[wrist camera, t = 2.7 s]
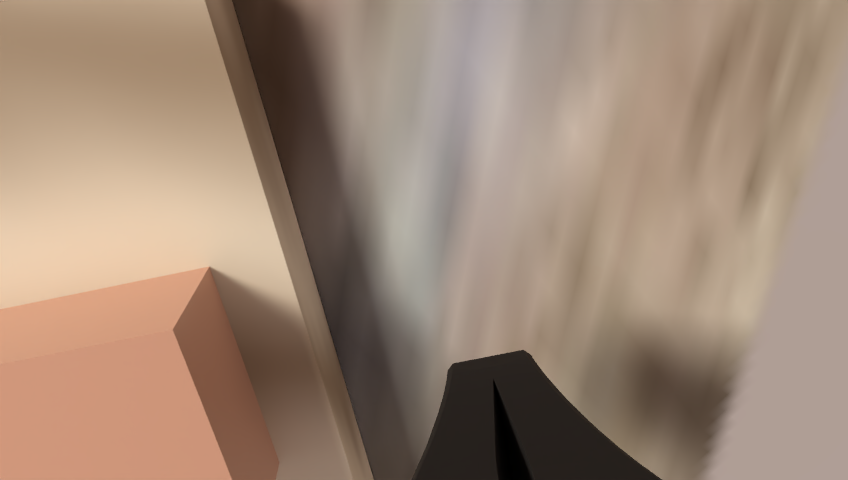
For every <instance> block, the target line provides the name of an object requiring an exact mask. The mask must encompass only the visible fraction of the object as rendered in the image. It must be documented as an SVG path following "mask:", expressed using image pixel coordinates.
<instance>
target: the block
mask: <svg viewBox="0 0 848 480" xmlns="http://www.w3.org/2000/svg"><path fill="white" fill-rule="evenodd" d="M279 463H280V462H279V460H278V457H277V454H276V451H275V448H274V446H273V443H272V440H271V437H270V434H269V432H268V429H267V426H266V423H265V420H264V418H263V415H262V412H261V409H260V406H259V404H258V401H257V398H256V395H255V393H254V390H253V387H252V384H251V381H250V379H249V376H248V373H247V370H246V367H245V365H244V362H243V359H242V356H241V353H240V351H239V348H238V345H237V342H236V339H235V337H234V334H233V331H232V328H231V325H230V323H229V320H228V317H227V314H226V312H225V309H224V306H223V303H222V300H221V298H220V295H219V292H218V289H217V286H216V284H215V281H214V278H213V275H212V272H211V270H210V267H204V268H199V269H195V270H190V271H185V272H180V273H175V274H170V275H165V276H160V277H155V278H151V279H146V280H141V281H136V282H131V283H126V284H121V285H116V286H111V287H107V288H102V289H97V290H92V291H87V292H82V293H77V294H72V295H68V296H63V297H58V298H53V299H48V300H43V301H38V302H33V303H28V304H24V305H19V306H14V307H9V308H4V309H0V480H276V476H277V472H278V467H279Z"/></svg>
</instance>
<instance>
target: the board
mask: <svg viewBox="0 0 848 480" xmlns="http://www.w3.org/2000/svg"><path fill="white" fill-rule="evenodd" d="M204 267H210V270H211V272H212V275H213V278H214V281H215V284H216V286H217V289H218V292H219V295H220V298H221V300H222V303H223V306H224V309H225V312H226V314H227V317H228V320H229V323H230V325H231V328H232V331H233V334H234V337H235V339H236V342H237V345H238V348H239V351H240V353H241V356H242V359H243V362H244V365H245V367H246V370H247V373H248V376H249V379H250V381H251V384H252V387H253V390H254V393H255V395H256V398H257V401H258V404H259V406H260V409H261V412H262V415H263V418H264V420H265V423H266V426H267V429H268V432H269V434H270V437H271V440H272V443H273V446H274V448H275V451H276V454H277V457H278V460H279V462H280V463H279V467H278V472H277V476H276V480H374V479H373V475H372V472H371V469H370V465H369V462H368V458H367V455H366V452H365V448H364V445H363V442H362V438H361V435H360V431H359V428H358V425H357V421H356V418H355V415H354V411H353V408H352V404H351V401H350V398H349V394H348V391H347V387H346V384H345V381H344V377H343V374H342V371H341V367H340V364H339V360H338V357H337V354H336V350H335V347H334V344H333V340H332V337H331V333H330V330H329V327H328V323H327V320H326V316H325V313H324V310H323V306H322V303H321V300H320V296H319V293H318V289H317V286H316V283H315V279H314V276H313V272H312V269H311V266H310V262H309V259H308V256H307V252H306V249H305V245H304V242H303V239H302V235H301V232H300V229H299V225H298V222H297V218H296V215H295V212H294V208H293V205H292V201H291V198H290V195H289V191H288V188H287V185H286V181H285V178H284V174H283V171H282V168H281V164H280V161H279V158H278V154H277V151H276V147H275V144H274V141H273V137H272V134H271V130H270V127H269V124H268V120H267V117H266V114H265V110H264V107H263V103H262V100H261V97H260V93H259V90H258V87H257V83H256V80H255V76H254V73H253V70H252V66H251V63H250V59H249V56H248V53H247V49H246V46H245V43H244V39H243V36H242V32H241V29H240V26H239V22H238V19H237V16H236V12H235V9H234V5H233V2H232V0H4V1H0V309H4V308H9V307H14V306H19V305H24V304H28V303H33V302H38V301H43V300H48V299H53V298H58V297H63V296H68V295H72V294H77V293H82V292H87V291H92V290H97V289H102V288H107V287H111V286H116V285H121V284H126V283H131V282H136V281H141V280H146V279H151V278H155V277H160V276H165V275H170V274H175V273H180V272H185V271H190V270H195V269H199V268H204Z"/></svg>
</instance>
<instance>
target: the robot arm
mask: <svg viewBox="0 0 848 480" xmlns="http://www.w3.org/2000/svg"><path fill="white" fill-rule="evenodd" d="M412 480H662V479H660V478H659V477H657V476H656V475H655V474H653V473H652V472H650V471H649V470H648V469H646V468H645V467H643V466H642V465H641V464H639V463H638V462H637V461H635V460H634V459H633V458H632V457H630V456H629V455H628V454H626V453H625V452H624V451H623V450H622V449H620V448H619V447H618V446H617V445H615V444H614V443H613V442H612V441H611V440H610V439H608V438H607V437H606V436H605V435H604V434H603V433H602V432H600V431H599V430H598V429H597V428H596V427H595V426H594V425H593V424H592V423H591V422H589V421H588V420H587V419H586V418H585V417H584V416H583V415H582V414H581V413H580V412H579V411H578V410H577V409H576V408H575V407H574V406H573V405H572V404H571V403H570V402H569V401H568V400H567V399H566V398H565V397H564V396H563V395H562V393H561V392H560V391H559V390H558V389H557V388H556V387H555V386H554V385H553V383H552V382H551V381H550V380H549V379H548V378H547V376H546V375H545V374H544V373H543V371H542V370H541V369H540V368H539V366H538V365H537V363H536V362H535V361H534V359H533V358H532V356H531V355H530V354H529V353H527V352H526V351H524V350H521V351H515V352H510V353H505V354H500V355H495V356H490V357H485V358H479V359H474V360H469V361H464V362H459V363H454V364H452V366H451V367H450V368H449V370H448V373H447V381H446V386H445V391H444V395H443V399H442V402H441V406H440V409H439V413H438V416H437V418H436V421H435V424H434V427H433V430H432V433H431V435H430V438H429V441H428V444H427V446H426V449H425V451H424V453H423V456H422V458H421V460H420V462H419V465H418V467H417V469H416V471H415V474H414V476H413V478H412Z"/></svg>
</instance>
